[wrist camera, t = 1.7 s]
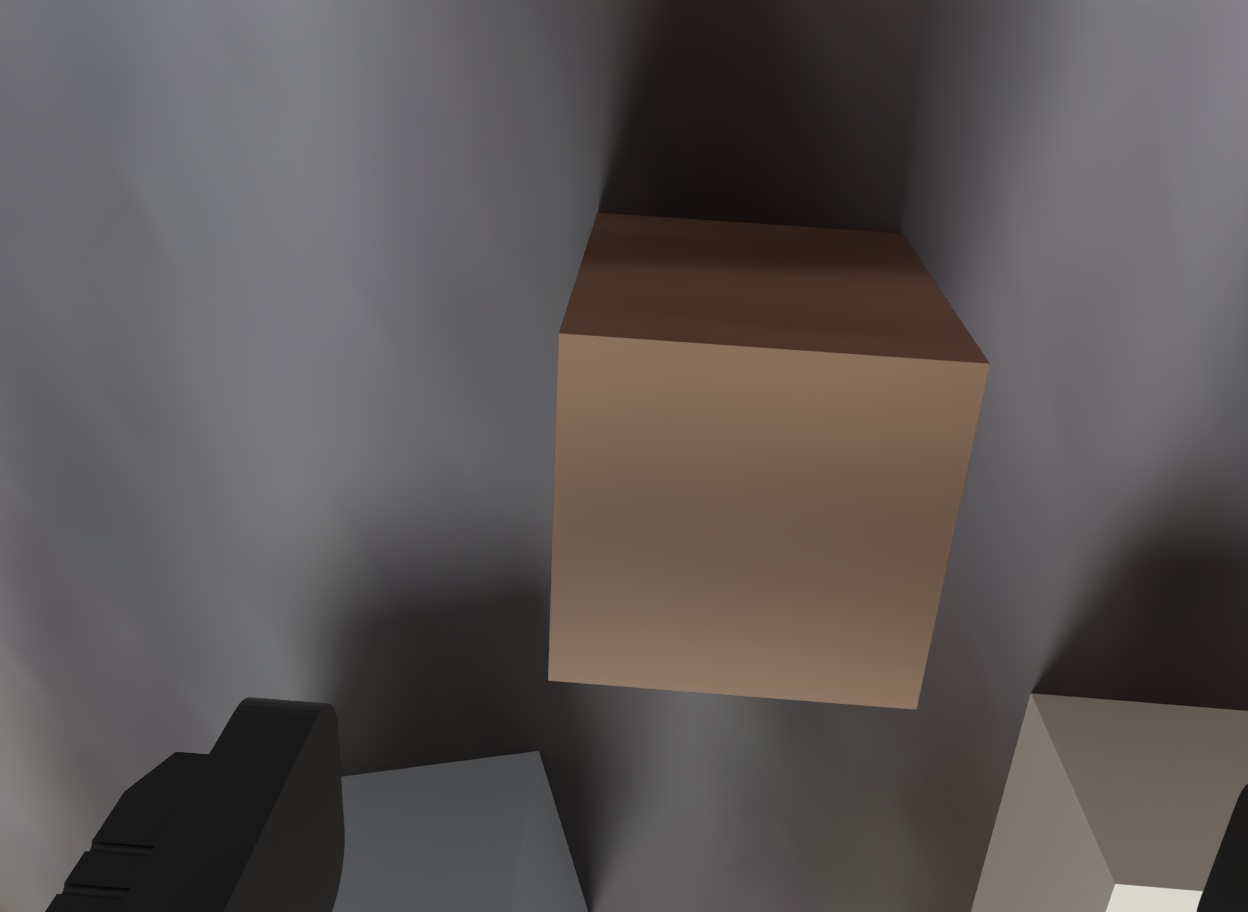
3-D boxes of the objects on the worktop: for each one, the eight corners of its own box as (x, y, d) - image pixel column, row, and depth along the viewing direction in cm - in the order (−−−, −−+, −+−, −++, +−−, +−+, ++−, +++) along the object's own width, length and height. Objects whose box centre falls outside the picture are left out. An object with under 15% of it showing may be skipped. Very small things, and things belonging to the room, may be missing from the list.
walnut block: (597, 212, 18) (558, 333, 13) (901, 232, 18) (990, 363, 13) (585, 480, 20) (548, 679, 15) (856, 500, 20) (916, 709, 15)
